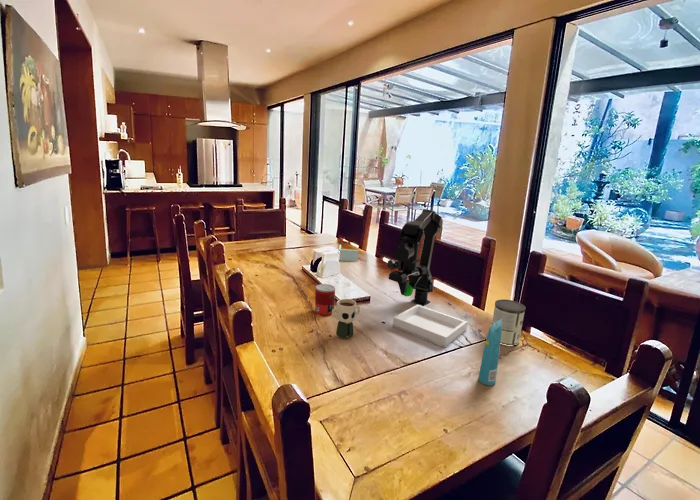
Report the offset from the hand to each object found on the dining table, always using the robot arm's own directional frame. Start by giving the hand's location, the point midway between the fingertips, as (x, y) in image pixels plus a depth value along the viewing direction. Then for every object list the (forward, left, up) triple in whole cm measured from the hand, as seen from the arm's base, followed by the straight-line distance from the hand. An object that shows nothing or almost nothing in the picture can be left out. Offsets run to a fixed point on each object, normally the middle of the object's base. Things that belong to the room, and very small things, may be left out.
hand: (406, 293), depth 148 cm
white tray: (0, +12, -11) cm, 16 cm away
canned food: (+19, -26, -11) cm, 34 cm away
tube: (+18, +41, -11) cm, 46 cm away
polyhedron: (0, 0, -1) cm, 1 cm away
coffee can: (-13, +36, -11) cm, 40 cm away
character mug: (+28, -7, -11) cm, 31 cm away
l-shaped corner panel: (-48, -71, -12) cm, 87 cm away
